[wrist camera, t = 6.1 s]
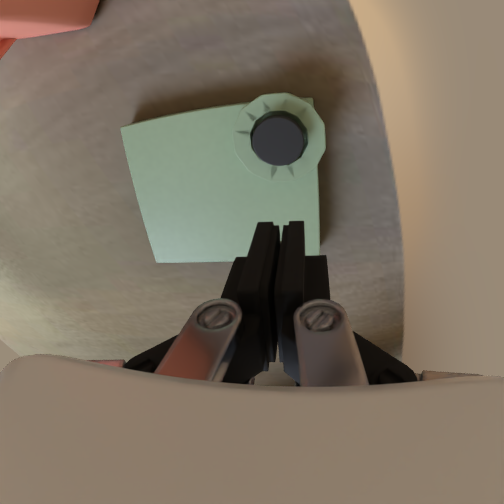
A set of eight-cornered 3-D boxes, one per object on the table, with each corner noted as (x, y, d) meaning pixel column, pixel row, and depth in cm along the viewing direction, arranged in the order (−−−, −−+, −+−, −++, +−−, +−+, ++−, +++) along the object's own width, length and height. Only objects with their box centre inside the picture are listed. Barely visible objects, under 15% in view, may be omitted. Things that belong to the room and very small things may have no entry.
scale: (318, 90, 19) (322, 91, 16) (325, 247, 26) (327, 270, 23) (129, 117, 22) (107, 124, 19) (163, 252, 29) (149, 272, 26)
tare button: (301, 113, 18) (301, 115, 16) (305, 159, 19) (305, 165, 18) (252, 116, 18) (249, 119, 17) (258, 161, 20) (255, 167, 19)
